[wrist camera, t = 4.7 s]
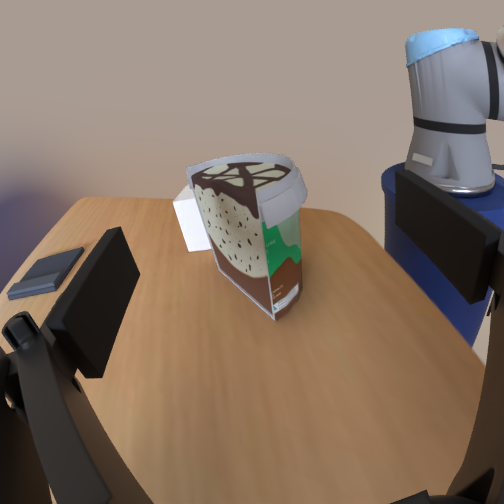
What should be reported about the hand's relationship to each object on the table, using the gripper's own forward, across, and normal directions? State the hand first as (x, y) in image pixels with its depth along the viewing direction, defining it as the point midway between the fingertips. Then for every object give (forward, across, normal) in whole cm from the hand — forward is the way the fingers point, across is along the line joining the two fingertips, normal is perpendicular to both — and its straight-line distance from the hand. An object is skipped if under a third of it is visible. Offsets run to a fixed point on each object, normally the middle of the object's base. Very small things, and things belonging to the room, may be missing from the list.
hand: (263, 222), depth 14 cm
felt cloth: (+20, -31, -10) cm, 38 cm away
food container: (+10, 0, -10) cm, 14 cm away
